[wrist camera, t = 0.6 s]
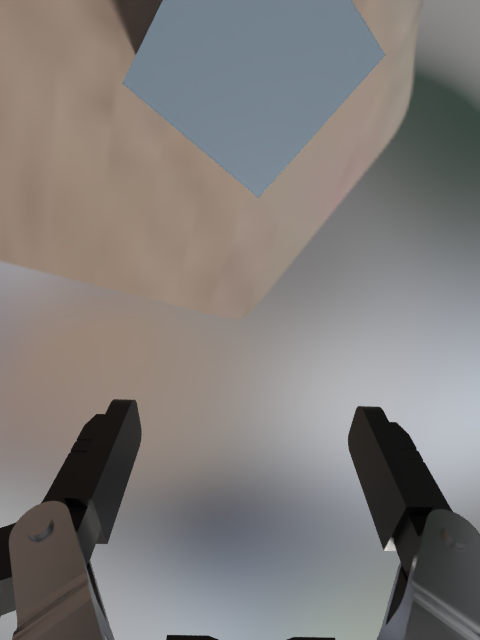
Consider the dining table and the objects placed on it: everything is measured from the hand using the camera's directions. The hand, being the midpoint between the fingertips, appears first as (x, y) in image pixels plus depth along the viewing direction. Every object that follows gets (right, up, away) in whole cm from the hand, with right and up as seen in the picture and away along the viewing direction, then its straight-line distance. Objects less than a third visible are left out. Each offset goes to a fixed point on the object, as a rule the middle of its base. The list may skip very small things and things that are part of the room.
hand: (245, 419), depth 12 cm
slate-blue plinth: (0, +25, +14) cm, 29 cm away
